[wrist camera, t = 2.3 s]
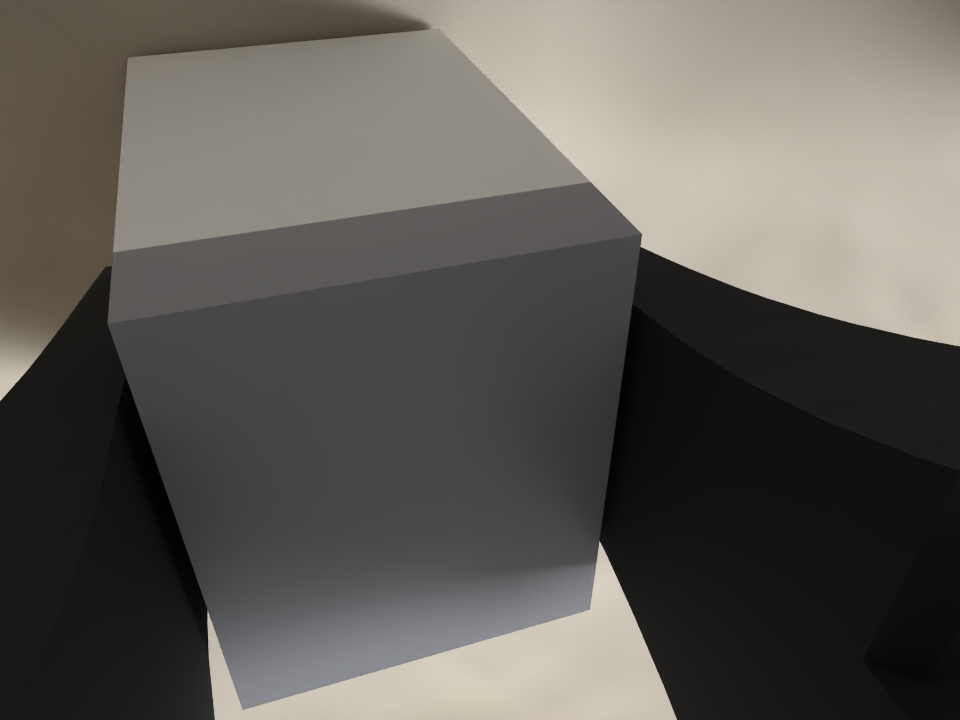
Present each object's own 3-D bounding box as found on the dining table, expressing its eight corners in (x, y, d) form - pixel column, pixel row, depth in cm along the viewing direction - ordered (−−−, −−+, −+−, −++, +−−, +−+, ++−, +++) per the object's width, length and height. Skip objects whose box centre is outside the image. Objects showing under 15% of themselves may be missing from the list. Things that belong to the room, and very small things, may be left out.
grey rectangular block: (439, 28, 11) (641, 234, 6) (448, 327, 14) (589, 610, 9) (128, 58, 10) (108, 323, 5) (211, 372, 13) (243, 709, 8)
